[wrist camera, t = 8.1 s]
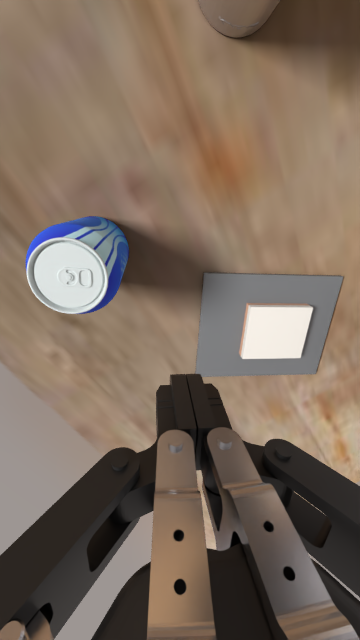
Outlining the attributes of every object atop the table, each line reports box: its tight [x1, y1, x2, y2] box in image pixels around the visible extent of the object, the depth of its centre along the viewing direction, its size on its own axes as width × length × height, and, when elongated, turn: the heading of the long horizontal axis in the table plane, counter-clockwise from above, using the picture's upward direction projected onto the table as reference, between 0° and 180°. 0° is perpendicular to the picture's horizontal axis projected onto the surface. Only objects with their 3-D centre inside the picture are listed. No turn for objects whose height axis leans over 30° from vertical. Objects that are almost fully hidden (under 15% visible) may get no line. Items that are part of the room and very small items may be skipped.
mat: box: [195, 273, 343, 377], centre depth 45 cm, size 18×22×1 cm
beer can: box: [26, 216, 129, 314], centre depth 31 cm, size 8×8×16 cm
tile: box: [239, 303, 313, 359], centre depth 44 cm, size 9×2×10 cm
